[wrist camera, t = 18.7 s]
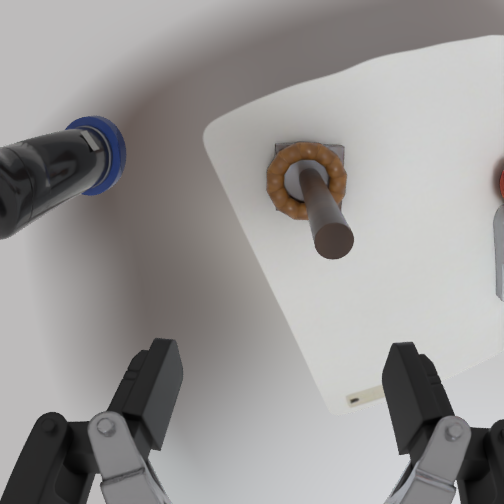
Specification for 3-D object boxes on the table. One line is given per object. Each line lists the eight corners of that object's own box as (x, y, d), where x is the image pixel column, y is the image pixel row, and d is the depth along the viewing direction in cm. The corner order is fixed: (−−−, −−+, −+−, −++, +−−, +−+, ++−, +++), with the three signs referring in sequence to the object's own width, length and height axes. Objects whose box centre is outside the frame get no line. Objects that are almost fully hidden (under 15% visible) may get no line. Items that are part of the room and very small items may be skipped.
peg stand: (276, 206, 39) (272, 293, 22) (275, 143, 36) (271, 179, 18) (339, 207, 39) (382, 293, 21) (342, 145, 35) (399, 183, 18)
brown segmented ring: (266, 215, 38) (265, 221, 37) (267, 139, 34) (266, 141, 32) (340, 218, 38) (343, 224, 36) (347, 144, 34) (350, 146, 32)
